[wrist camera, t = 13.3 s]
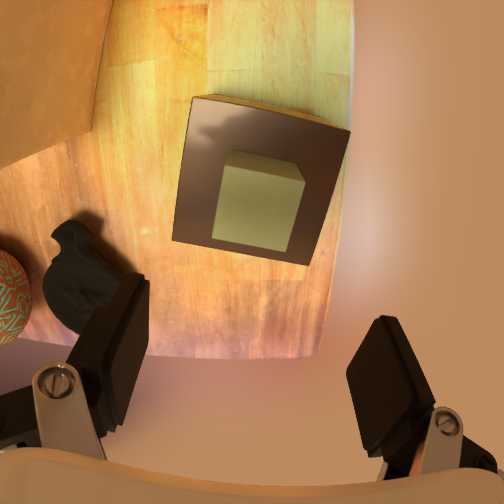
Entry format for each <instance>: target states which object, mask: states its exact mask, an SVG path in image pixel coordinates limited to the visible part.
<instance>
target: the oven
mask: <svg viewBox="0 0 504 504" xmlns="http://www.w3.org/2000/svg"><path fill="white" fill-rule="evenodd" d="M112 3H113V0H0V170H1V169H3V168H5V167H7V166H9V165H11V164H13V163H15V162H17V161H19V160H21V159H24V158H26V157H28V156H30V155H32V154H35V153H37V152H39V151H41V150H44V149H46V148H48V147H51V146H53V145H56V144H58V143H60V142H63V141H65V140H68V139H71V138H73V137H76V136H78V135H81V134H84V133H86V132H89V131H91V126H92V115H93V106H94V98H95V90H96V83H97V76H98V70H99V64H100V58H101V53H102V48H103V42H104V38H105V33H106V28H107V24H108V19H109V15H110V11H111V7H112Z"/></svg>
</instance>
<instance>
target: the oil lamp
mask: <svg viewBox="0 0 504 504" xmlns="http://www.w3.org/2000/svg"><path fill="white" fill-rule="evenodd" d="M51 237H52V238H53V239H55V240H56V241H57V242H58V243H59V244H60V247H61V251H60V253H59V255H57V256H56V257H54V258H53V260H52V264H51V265H50V267H49V268H48V270H47V271H46V273H45V276H44V280H43V292H44V296H45V299H46V301H47V304H48V306H49V308H50V309H51V311H52V312H53V314H54V315H55V316H56V317H57V318H58V319H59V320H60V321H61V322H62V323H63V324H64V325H65V326H66V327H67V328H68V329H70V330H72V331H73V332H75V333H77V334H79V335H81V333H82V331H83V329H84V327H85V326H86V324H87V322H88V320H89V319H90V317H91V315H92V313H93V312H94V310H95V308H96V307H97V306H98V305H101V306H105V307H107V306H108V304H109V303H110V301H111V299H112V297H113V295H114V294H115V292H116V290H117V288H118V287H119V285H120V283H121V281H122V280H123V278H124V277H123V275H121V274H120V273H119V272H118V271H117V270H116V269H115V268H114V267H112V266H111V265H109V264H108V263H107V262H105V261H104V260H103V259H102V258H101V257H100V256H99V255H98V254H97V253H96V252H95V250H94V248H93V246H92V243H91V237H92V232H91V231H90V229H89V228H88V227H86V226H85V225H84V224H83V223H81V222H79V221H76V220H72V219H71V220H67V221H65V222H64V223H62V224H61V225H60V226H59V227H57V228H56V229H55V230H54V231H53V233H52V234H51Z"/></svg>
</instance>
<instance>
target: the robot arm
mask: <svg viewBox="0 0 504 504" xmlns="http://www.w3.org/2000/svg"><path fill="white" fill-rule="evenodd" d="M149 289H150V282H149V280H145V277H144V275H142V274H138V273H133V272H127V273H126V275H125V276H124V278H123V280H122V281H121V283H120V285H119V287H118V288H117V290H116V292H115V294H114V295H113V297H112V299H111V301H110V303H109V304H108V306H107V307H105V306H101V305H98V306H97V307H96V308H95V310H94V312H93V313H92V315H91V317H90V319H89V320H88V322H87V324H86V326H85V327H84V329H83V331H82V333H81V335H80V336H79V338H78V340H77V342H76V344H75V346H74V347H73V349H72V351H71V353H70V355H69V357H68V359H67V361H66V363H63V362H51V363H47V364H45V365H43V366H42V367H40V368H39V369H38V370H37V371H36V373H35V375H34V377H33V382H32V385H30V386H27V387H24V388H21V389H18V390H15V391H12V392H9V393H6V394H3V395H0V504H504V472H503V471H501V469H499V470H498V471H497V469H498V468H497V463H496V460H495V458H494V457H493V455H491V454H490V453H489V452H488V451H486V450H485V449H483V448H482V447H480V446H479V445H477V444H476V443H474V442H472V441H471V440H470V439H468V438H467V437H465V436H464V435H463V423H462V420H461V418H460V417H459V416H458V414H457V413H456V412H455V411H453V410H451V409H450V408H447V407H438V408H436V409H434V406H433V405H434V404H435V403H436V401H435V399H434V396H433V394H432V392H431V389H430V387H429V385H428V382H427V380H426V378H425V376H424V373H423V371H422V369H421V367H420V365H419V362H418V360H417V358H416V356H415V354H414V352H413V350H412V348H411V345H410V343H409V341H408V339H407V337H406V335H405V333H404V331H403V329H402V327H401V325H400V323H399V321H398V319H397V318H396V317H393V316H385V315H381V316H380V317H379V318H377V319H375V320H374V321H373V323H372V325H371V327H370V329H369V331H368V333H367V335H366V336H365V338H364V340H363V342H362V343H361V345H360V347H359V349H358V350H357V352H356V354H355V355H354V357H353V359H352V361H351V362H350V364H349V366H348V368H347V371H346V377H347V381H348V385H349V389H350V393H351V397H352V401H353V405H354V409H355V414H356V418H357V422H358V426H359V430H360V435H361V439H362V444H363V448H364V449H365V450H367V453H368V457H369V458H372V457H381V456H383V459H384V462H383V465H382V467H381V470H380V473H379V475H378V478H377V481H376V482H369V483H358V484H347V485H331V486H300V487H299V486H298V487H297V486H295V487H294V486H287V487H286V486H259V485H243V484H232V483H222V482H213V481H205V480H198V479H191V478H184V477H179V476H173V475H168V474H163V473H158V472H152V471H148V470H143V469H138V468H134V467H130V466H126V465H122V464H118V463H114V462H110V461H108V460H107V457H106V454H105V452H104V449H103V446H102V443H101V440H100V438H103V437H105V436H106V435H107V431H110V432H115V429H116V426H117V425H121V426H122V425H123V422H124V419H125V416H126V412H127V409H128V406H129V402H130V399H131V396H132V392H133V389H134V386H135V383H136V380H137V377H138V373H139V370H140V367H141V364H142V361H143V358H144V355H145V352H146V349H147V346H148V340H149Z"/></svg>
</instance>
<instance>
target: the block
mask: <svg viewBox="0 0 504 504" xmlns="http://www.w3.org/2000/svg"><path fill="white" fill-rule="evenodd" d="M304 186H305V180H304V179H303V177H302V175H301V173H300V171H299V169H298V167H297V165H296V164H295V163H292V162H287V161H283V160H278V159H274V158H269V157H265V156H260V155H255V154H250V153H245V152H240V151H235V150H230V152H229V155H228V158H227V161H226V163H225V166H224V172H223V177H222V182H221V187H220V193H219V198H218V204H217V209H216V215H215V220H214V226H213V232H212V238H213V239H219V240H224V241H229V242H235V243H240V244H245V245H251V246H256V247H261V248H266V249H272V250H277V251H282V252H286V249H287V246H288V242H289V239H290V235H291V232H292V228H293V225H294V222H295V218H296V215H297V211H298V208H299V204H300V201H301V197H302V194H303V190H304Z"/></svg>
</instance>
